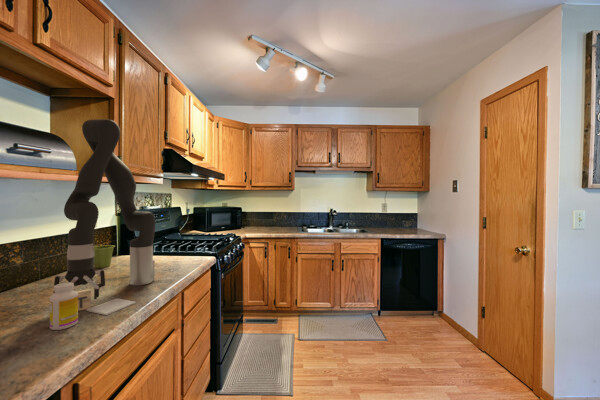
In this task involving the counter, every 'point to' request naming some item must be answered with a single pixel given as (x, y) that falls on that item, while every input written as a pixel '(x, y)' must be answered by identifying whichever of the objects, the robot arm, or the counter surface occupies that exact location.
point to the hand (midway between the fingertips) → (80, 301)
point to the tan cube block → (84, 299)
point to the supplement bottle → (63, 306)
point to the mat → (111, 306)
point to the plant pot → (103, 256)
